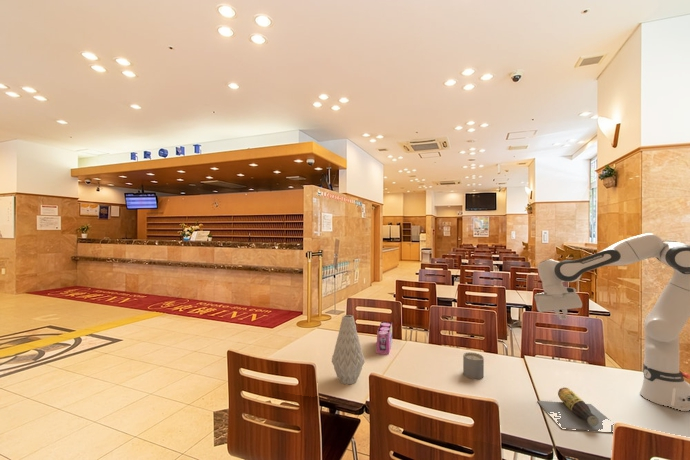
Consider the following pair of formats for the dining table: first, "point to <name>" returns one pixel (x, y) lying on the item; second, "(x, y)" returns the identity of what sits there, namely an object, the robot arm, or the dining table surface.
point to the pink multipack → (384, 338)
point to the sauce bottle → (577, 406)
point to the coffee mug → (473, 365)
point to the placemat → (573, 416)
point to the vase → (348, 352)
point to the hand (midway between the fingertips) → (563, 319)
